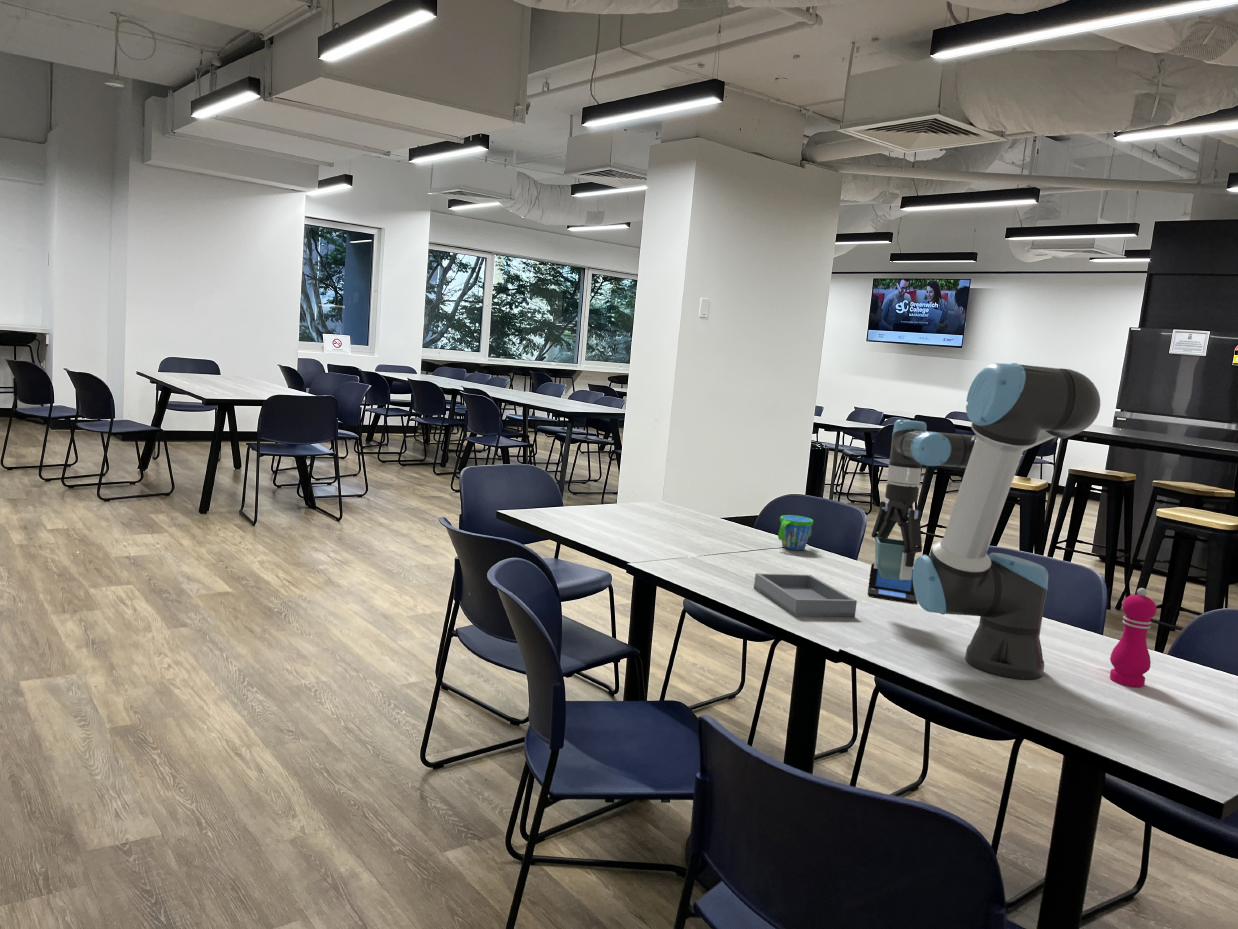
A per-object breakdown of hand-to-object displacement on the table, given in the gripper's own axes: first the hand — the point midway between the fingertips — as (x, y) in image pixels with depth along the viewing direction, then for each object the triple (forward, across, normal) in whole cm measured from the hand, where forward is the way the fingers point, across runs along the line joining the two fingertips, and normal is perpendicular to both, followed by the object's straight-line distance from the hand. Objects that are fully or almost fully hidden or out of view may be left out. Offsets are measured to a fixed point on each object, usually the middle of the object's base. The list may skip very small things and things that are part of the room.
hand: (891, 573), depth 211 cm
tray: (+11, +12, +17) cm, 23 cm away
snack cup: (+9, +74, -11) cm, 75 cm away
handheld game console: (+11, +20, -14) cm, 26 cm away
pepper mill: (+12, -42, -30) cm, 53 cm away
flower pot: (+1, 0, 0) cm, 1 cm away
